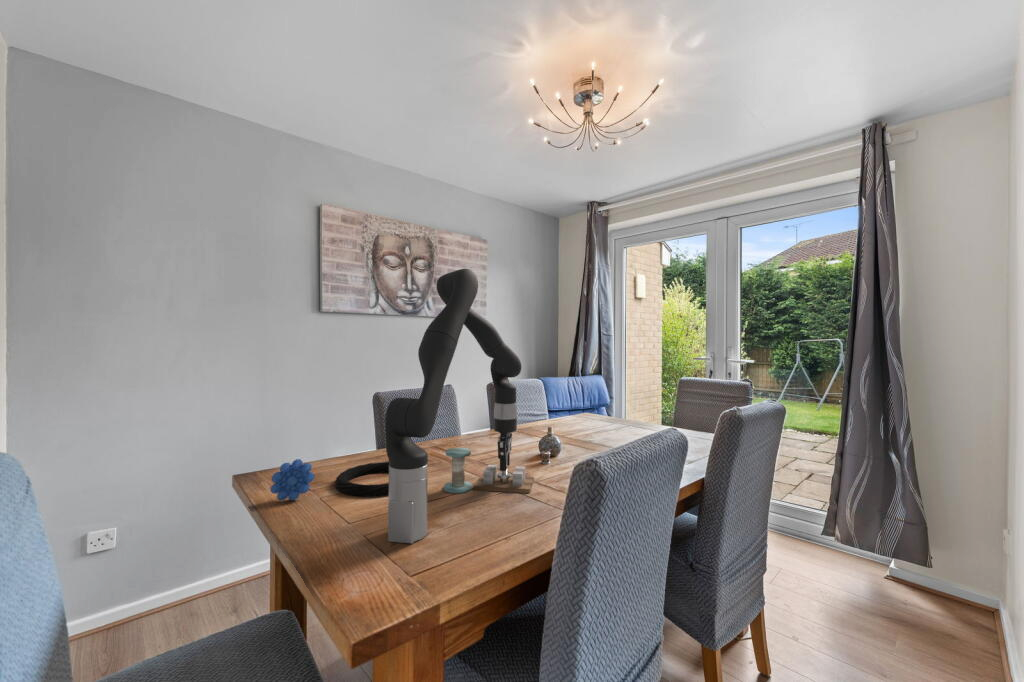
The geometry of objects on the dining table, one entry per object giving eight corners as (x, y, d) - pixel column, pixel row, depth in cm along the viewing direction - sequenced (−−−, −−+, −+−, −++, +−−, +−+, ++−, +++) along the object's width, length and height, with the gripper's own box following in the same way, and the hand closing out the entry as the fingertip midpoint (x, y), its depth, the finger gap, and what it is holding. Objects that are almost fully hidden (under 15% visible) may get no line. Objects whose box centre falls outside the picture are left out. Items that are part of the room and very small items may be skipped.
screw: (495, 479, 146) (510, 478, 147) (497, 484, 141) (512, 483, 142) (496, 440, 146) (510, 439, 147) (498, 444, 141) (513, 443, 142)
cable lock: (317, 484, 133) (360, 457, 163) (317, 497, 133) (360, 467, 163) (406, 488, 131) (434, 460, 160) (406, 501, 131) (434, 470, 160)
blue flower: (316, 493, 135) (316, 454, 135) (313, 501, 128) (313, 460, 128) (273, 497, 131) (273, 457, 131) (268, 505, 125) (268, 463, 125)
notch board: (529, 493, 137) (530, 476, 137) (473, 489, 140) (473, 473, 140) (533, 480, 149) (534, 465, 149) (481, 477, 152) (481, 462, 152)
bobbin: (468, 494, 135) (468, 455, 135) (440, 492, 137) (440, 453, 137) (475, 484, 144) (475, 448, 144) (448, 482, 146) (449, 446, 146)
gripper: (513, 420, 137) (512, 475, 137) (519, 413, 151) (519, 462, 151) (489, 420, 138) (489, 474, 138) (498, 412, 152) (497, 461, 152)
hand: (504, 468), depth 144 cm, fingers open, 5 cm apart
